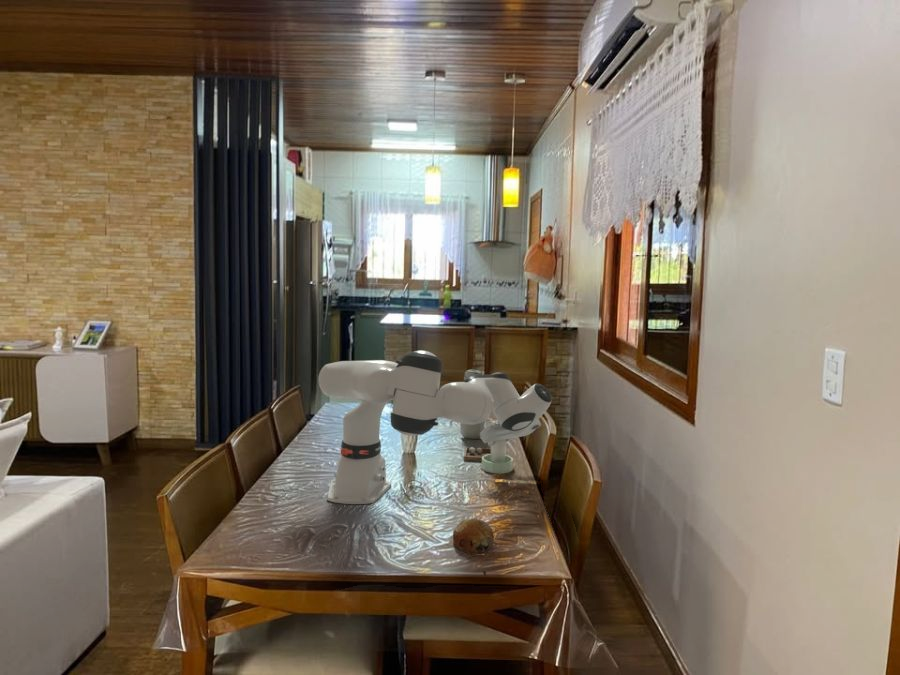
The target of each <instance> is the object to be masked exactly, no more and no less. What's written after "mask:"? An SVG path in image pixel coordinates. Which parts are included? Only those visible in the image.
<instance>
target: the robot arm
mask: <svg viewBox="0 0 900 675" xmlns="http://www.w3.org/2000/svg"><path fill="white" fill-rule="evenodd" d="M442 373H443V361H442V359H441V358H440V357H438V356H437V355H436V354H434V353H433V352H431V351H428V350H421V349H420V350H415V351H409V352H408V353H406V354H404V355H403V356H402V357H401V358H400V359H399V360H395V361H391V360H384V359H371V360H368V359H367V360H341V361H335V362H330V363H327V364H324V366H322V367H321V369H320V371H319V374H318V377H317V378H318V379H317V380H318V386H319V388H320V390H321V392H322V393H323V395H325V396H326V397H332V398H341V399H348V400H357V401H361V402H360V403H359V404H358V405H357V406H355V407H352V408H351V409H349V410H348V411H347V412H346V413H345V414H344V417H343V420H342V422H343V423H342V440H341V444H340V455H339V456H338V457H337V467H336V472H335V473H334V479H331V480H330V484H329V488H328V494H327V501H328V502H331V503H335V504H343V505H346V504H347V505H367V504H368V505H369V504H373V503H375V502H376V501H378V499H380V498H381V497H382V496H383V495H384V494H385V493H386V492H387V491H389V489H390V488H391V487H392V483H391V482H390V481H388V480H387V472H386V471H387V468H386V467H387V466H386V459H385V458H384V457H383V456H382V454H381V450H382V449H381V448H382V443H381V439H380V433H381V432H380V431H381V430H380V428H381V420H382V419H381V418H382V414H383V412H384V409H385V406H386V405H387V404H388V403H389V402H391V401H392V411H391V413H390V426H391V427H392V428H393V429H394V430H396V431H397V432H399V433H400V434H402V435H405V436H409V437H411V436H412V437H413V436H419V435H420V436H421V435H425V434H427V433H428V432H430V431H431V430H432V429H433V427H435V426H436V427H437V426H439V422H436V421H437V420H438V419H439V418H443V419H446V420H449V421H452V422H455V423H458V424H460V423H462V424H469V425H474V424H479V423H482V422H484V421H485V422H486V420H487V419H488V418H489V417H490V416H491V414H492V413H493V415H494V417H495V419H496V420H497V421H493V422H491V423H489V424H487V426H486V427H484V429H483V430H482V431H481V432H480V437H481V438H480V439H481V441H482V442H483V444H487V445H488V446H489V447H491V446H492V445H494V444H495V442H494V441H500V440H505V439H506V444H508V443H509V442H510V441H511V440H513V439H515V438H520V437H525V436H529V435H530V434H533V432H535V431H536V429H539V427H541V426H542V423H541V421H540V418H541V417H542V416H543V414H545V413H546V411H547V410H548V409H549V407H550V406H551V404H552V401H553V398H552V394H551V393H550V392H549V390H548V389H547V387H545V386H544V385H543V384H541V383H534V384H533V385H531V386H530V387H529V388H527V390H525V391H524V392H523V393H522V394H521V395H520V394H519V393H518V391H517V389H516V387H515V386H514V384H513V382H512V379H511V378H510V375H509V374H507V373H506V372H505V373H504V372H502V371H501V372H500V371H499V372H498V371H497V372H494V373H491V374H482V375H474V376H471V377H468V378H467V379H465V380H464V379H463V381H454V382H449V383H446V384H443V385H442V386H441V387H440V384H441V374H442Z"/></svg>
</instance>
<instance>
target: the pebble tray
mask: <svg viewBox="0 0 900 675" xmlns="http://www.w3.org/2000/svg"><path fill="white" fill-rule="evenodd" d="M470 448H471V447H465V450H464V455H463V461H464V462H480V463H482V456H484V455H487V454H491V448H487V447H486V448H485V447H484V448H483V447H480V448H481V449H482V453H481V454H478V453H477V452H476V451H475V453H474V454H470V453H469V449H470ZM474 448H475V450H477V448H478V447H474Z"/></svg>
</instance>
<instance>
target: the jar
mask: <svg viewBox="0 0 900 675" xmlns="http://www.w3.org/2000/svg"><path fill="white" fill-rule="evenodd" d="M494 442H495V444H494V445H492V446H490V449H491V455H490V460H491V461H493V462H504V461H505V455H507V454H506V450H507V449H506V448H507V443H506V439H505V440H500V441H494Z"/></svg>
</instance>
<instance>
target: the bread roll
mask: <svg viewBox="0 0 900 675" xmlns="http://www.w3.org/2000/svg"><path fill="white" fill-rule="evenodd" d="M494 536H495V535H494V531H493V529H492V527H491V526H490V524H489V523H488V522H486V521H484V520H482V519H480V518H467V519H463V520H461V522H459V523H458V524H457V525H456V527H455V528H454V529H453V532H452V539H453V540H452V541H453V545H454V546H455V547H456V549H458V550H459V551H462V552H464V553H470V554H475V553H476V554H480V553H484V552H487V551H488V550H490V548H492V546H493V544H494V543H495V542H494V540H495V537H494Z"/></svg>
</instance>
